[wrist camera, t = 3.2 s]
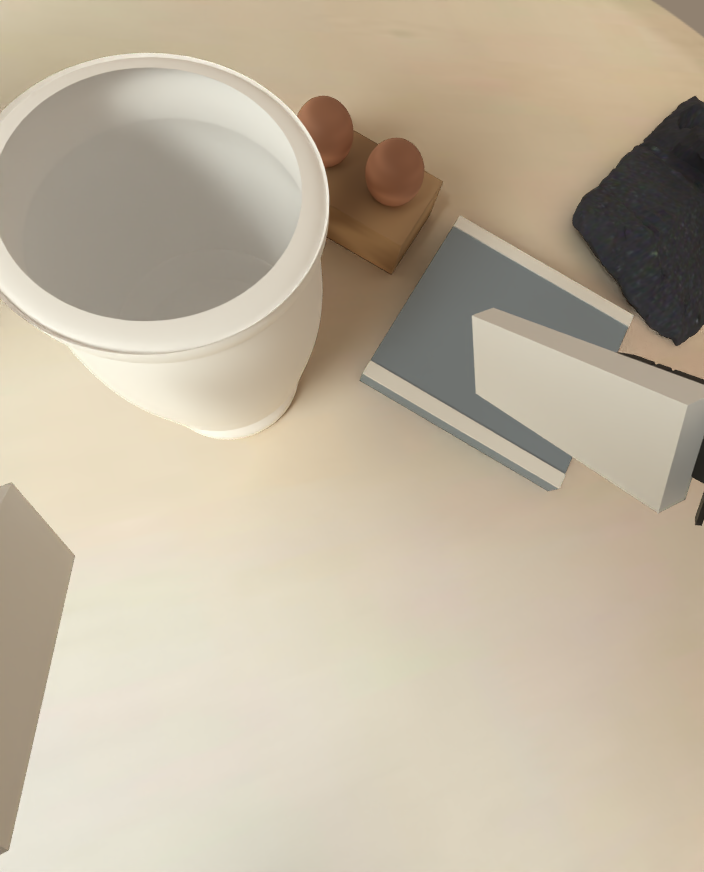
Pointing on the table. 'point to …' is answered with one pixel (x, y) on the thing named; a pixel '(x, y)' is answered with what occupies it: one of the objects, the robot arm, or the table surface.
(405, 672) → the table surface
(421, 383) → the slate card
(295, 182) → the jar
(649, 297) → the dark flat piece
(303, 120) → the ball rack
